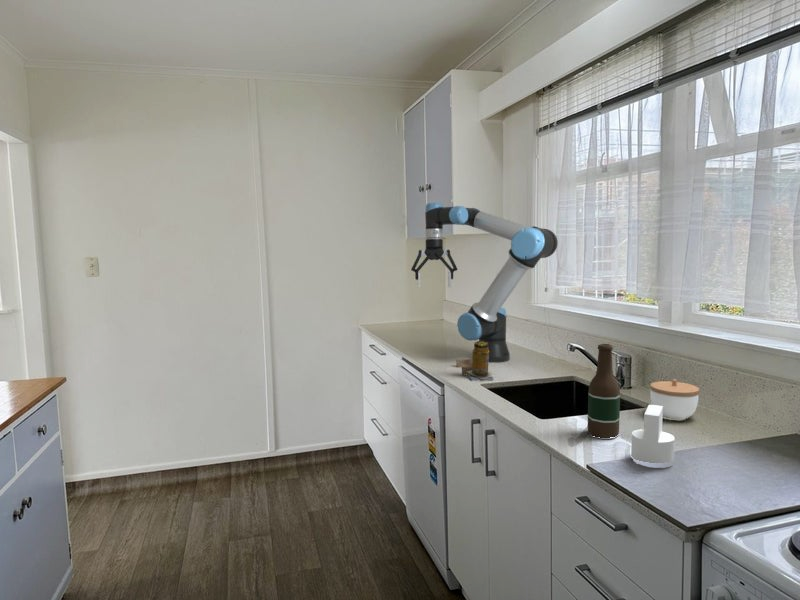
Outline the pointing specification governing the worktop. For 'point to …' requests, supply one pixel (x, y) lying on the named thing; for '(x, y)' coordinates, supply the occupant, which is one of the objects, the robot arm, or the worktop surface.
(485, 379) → the coaster
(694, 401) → the lidded bowl
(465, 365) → the rack
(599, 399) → the beer bottle
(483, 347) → the condiment
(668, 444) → the base with upright slab
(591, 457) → the worktop surface
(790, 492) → the worktop surface
